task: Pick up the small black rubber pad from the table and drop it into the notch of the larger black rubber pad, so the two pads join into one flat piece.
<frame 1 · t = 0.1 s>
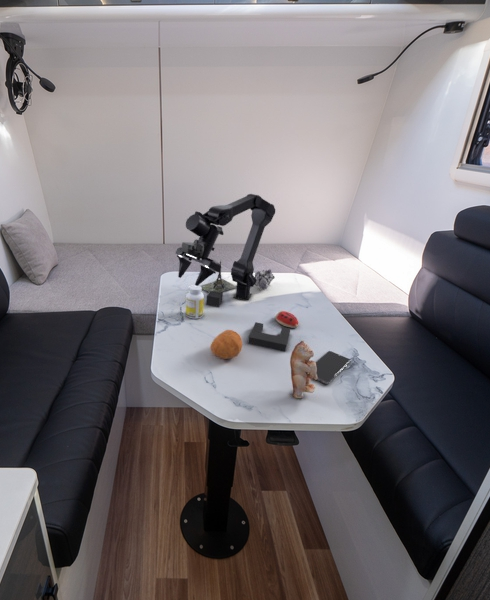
hand: (187, 281, 132), 15 cm above the table, tool tilted 30°, fingers open, 9 cm apart
smartphone: (327, 368, 111), on the table
mineral specimen: (262, 287, 165), on the table
pill bottle: (194, 315, 140), on the table
notched pad: (269, 339, 126), on the table
potato: (226, 355, 117), on the table
ladybug figurine: (286, 323, 136), on the table
eiffel tower figurine: (218, 287, 164), on the table
figurine: (298, 393, 101), on the table
small pad: (214, 303, 150), on the table
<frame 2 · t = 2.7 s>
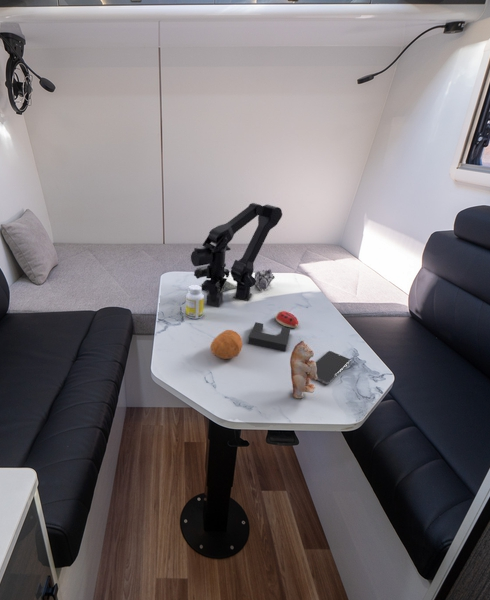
hand: (214, 298, 149), 2 cm above the table, tool pointing down, fingers closed on small pad, 5 cm apart
small pad: (214, 303, 150), on the table, touching gripper
everything else where it was.
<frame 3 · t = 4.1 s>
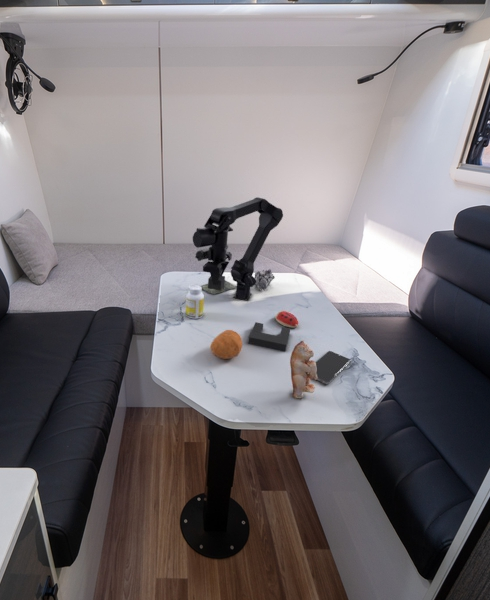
hand: (216, 282, 145), 9 cm above the table, tool pointing down, fingers closed on small pad, 5 cm apart
small pad: (216, 286, 146), point 7 cm above the table, touching gripper
everything else where it was.
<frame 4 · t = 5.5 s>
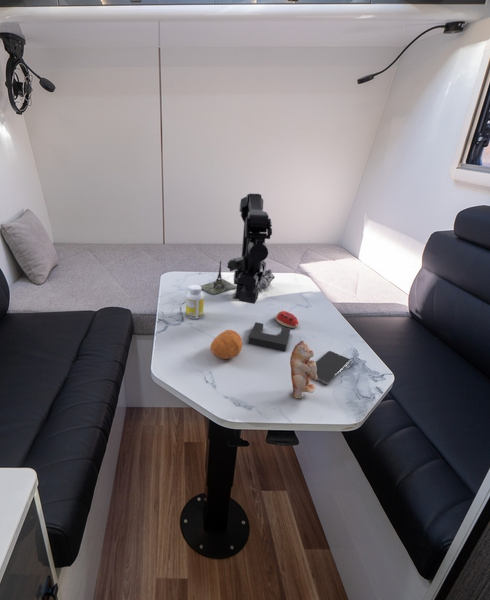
hand: (249, 294, 131), 11 cm above the table, tool pointing down, fingers closed on small pad, 5 cm apart
small pad: (248, 299, 132), point 9 cm above the table, touching gripper
everything else where it was.
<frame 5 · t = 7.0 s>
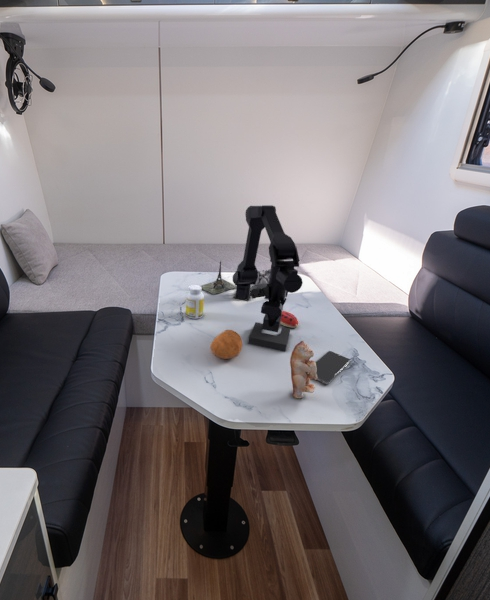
hand: (272, 322, 125), 5 cm above the table, tool pointing down, fingers closed on small pad, 5 cm apart
small pad: (271, 327, 126), point 3 cm above the table, touching gripper
everything else where it was.
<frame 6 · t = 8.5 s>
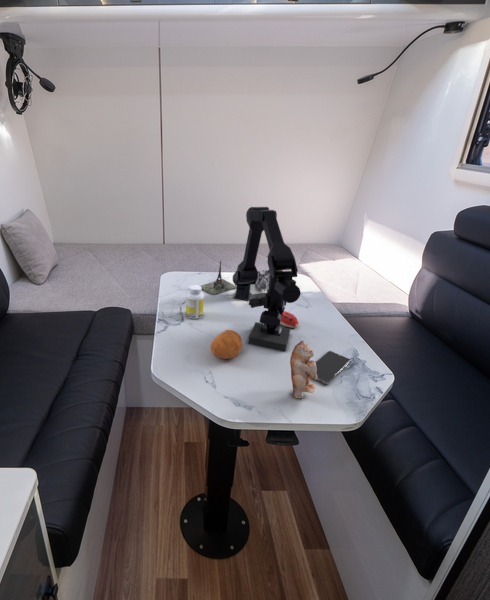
hand: (270, 331, 127), 2 cm above the table, tool pointing down, fingers closed on small pad, 5 cm apart
small pad: (269, 335, 128), on the table, touching gripper
everything else where it was.
when the fingers open (2 cm above the table, at t = 8.5 s): small pad stays where it is, on the table.
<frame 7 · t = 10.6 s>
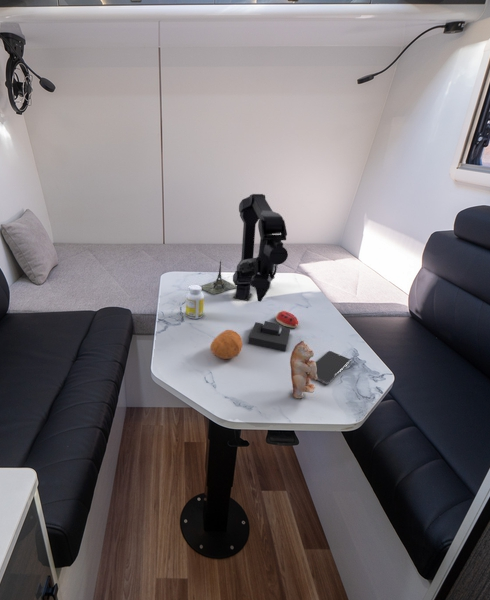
hand: (261, 295, 130), 11 cm above the table, tool pointing down, fingers open, 9 cm apart
small pad: (269, 335, 128), on the table
everything else where it was.
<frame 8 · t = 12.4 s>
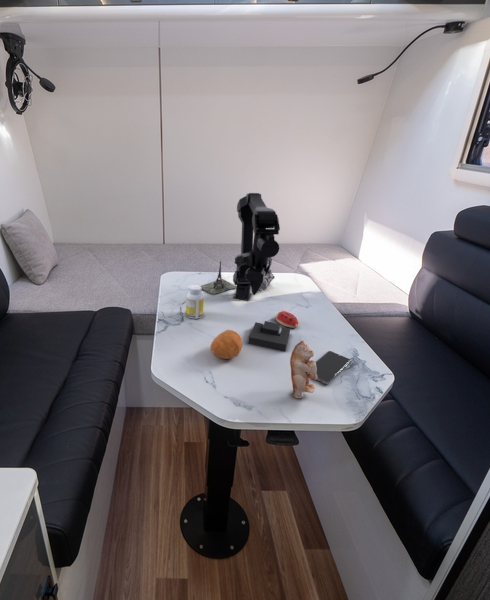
hand: (256, 289, 133), 12 cm above the table, tool pointing down, fingers open, 9 cm apart
nothing on the table moved.
at the end: small pad 0.1 cm from the target spot on the notched pad, point 0.0 cm above the notched pad's base; small pad tilted 0°; the gripper is holding nothing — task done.
